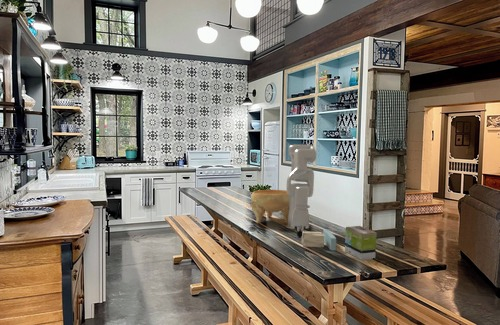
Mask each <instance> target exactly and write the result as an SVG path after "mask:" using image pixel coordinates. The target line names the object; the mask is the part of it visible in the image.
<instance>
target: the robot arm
mask: <svg viewBox="0 0 500 325" xmlns="http://www.w3.org/2000/svg"><path fill="white" fill-rule="evenodd" d="M288 156H290V161H291V167H290V168H291V169H290V170H291V171H290V173H289V175H288V177H287V178H286V189H285V190H286V191H287V195H288V196H289V213H288V223H286V224H285V228H287V229H290V230H296V237H297V238H298V239H302V232H303V231H305V230H306V229H309V228H310V214H309V208H311V206H310V205H308V201H309V199H308V198H311V197H313V195H314V182H315V173H314V170H313V169H312V168H308V163H314V162H316V160H317V151H316V148H315V146H314V145H312V144H291V145H289V147H288ZM292 182H294V183H292ZM300 182H301V183H300Z"/></svg>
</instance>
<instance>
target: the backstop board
mask: <svg viewBox="0 0 500 325" xmlns="http://www.w3.org/2000/svg"><path fill="white" fill-rule="evenodd" d="M322 233H323V234H324V236H325V237H324V245H326V247H328V249H329V250H330V251H337V238H336V236H335V235H334V233H332V232H331V231H330V230H329V229H323V232H322Z"/></svg>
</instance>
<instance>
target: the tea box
mask: <svg viewBox="0 0 500 325" xmlns="http://www.w3.org/2000/svg"><path fill="white" fill-rule="evenodd" d="M377 235H378V233H377V232H376V231H373V230H371V229H369V228H366V227H363V226H361V225H356V226H355V225H353V226H346V227H345V236H344V238H345V241H344V252H345V253H348V254H350V255H351V256H353V257H355V258H356V259H358V260H360V261H362V260H363V261H364V259H365V260H371V259H373V258H374V259H376V251H377V250H376V249H377V237H378V236H377Z"/></svg>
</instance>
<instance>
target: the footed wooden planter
mask: <svg viewBox="0 0 500 325" xmlns="http://www.w3.org/2000/svg"><path fill="white" fill-rule="evenodd" d="M250 200H251V204H250V205H249V206H250V208H251V209H252V213H254V216H255V218H256V220H255V221H256V223H257V224H261V222H262V221H263V220H262V219H263V217H264V215H265V214H266V217H267V218H271V217H272V216H273V213H278V212H280V213H281V215H282V217H283V220H284V223H286V224H288V213H289V196H288V195H287V191H286V189H283V190H282V189H261V190H259V189H258V190H255V191H254V190H253V191H252V193H251V194H250Z"/></svg>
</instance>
